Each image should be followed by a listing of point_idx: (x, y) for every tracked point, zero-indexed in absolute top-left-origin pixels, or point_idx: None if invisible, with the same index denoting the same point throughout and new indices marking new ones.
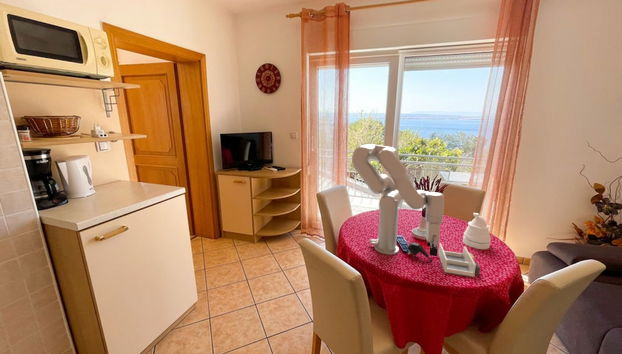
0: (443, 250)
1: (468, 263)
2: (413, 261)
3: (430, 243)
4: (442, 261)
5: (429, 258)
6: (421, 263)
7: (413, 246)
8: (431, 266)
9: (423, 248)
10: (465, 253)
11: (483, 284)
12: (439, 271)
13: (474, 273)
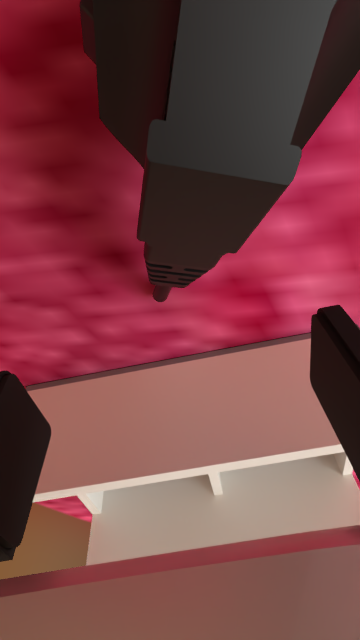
0: (221, 470)
1: (200, 501)
2: (6, 78)
3: (334, 386)
4: (140, 393)
5: (156, 286)
6: (37, 198)
7: (154, 16)
8: (52, 298)
9: (232, 251)
10: (302, 516)
11: (58, 509)
12: (14, 358)
13: (96, 514)
